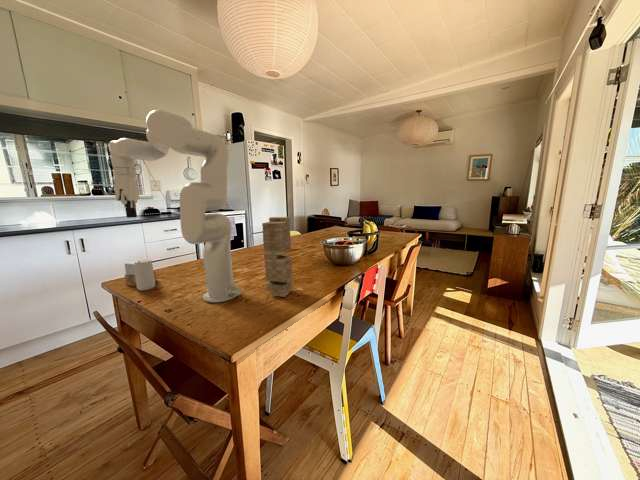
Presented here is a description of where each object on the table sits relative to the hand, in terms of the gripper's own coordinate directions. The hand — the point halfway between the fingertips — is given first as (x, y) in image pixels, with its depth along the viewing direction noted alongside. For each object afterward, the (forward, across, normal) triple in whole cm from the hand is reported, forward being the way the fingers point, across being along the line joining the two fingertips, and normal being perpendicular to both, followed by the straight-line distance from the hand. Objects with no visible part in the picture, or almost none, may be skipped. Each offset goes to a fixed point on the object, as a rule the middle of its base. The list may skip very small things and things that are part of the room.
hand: (132, 217), depth 108 cm
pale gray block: (+25, 0, 0) cm, 25 cm away
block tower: (+29, +29, +60) cm, 72 cm away
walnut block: (+30, 0, 0) cm, 30 cm away
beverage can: (+30, +9, +5) cm, 31 cm away
